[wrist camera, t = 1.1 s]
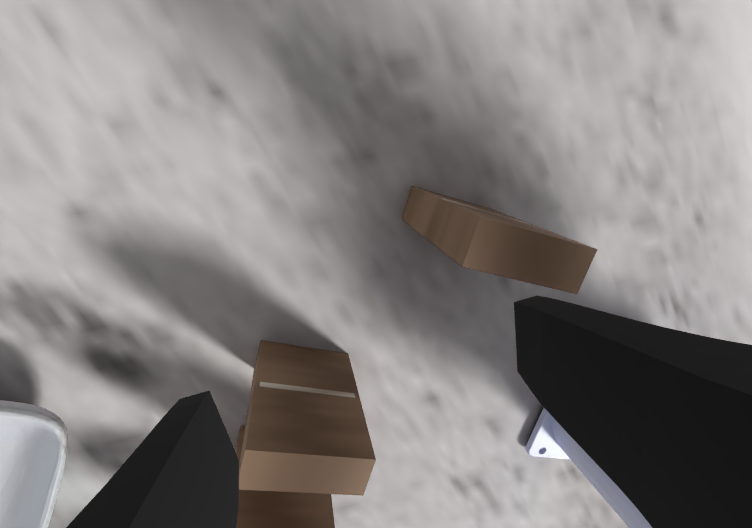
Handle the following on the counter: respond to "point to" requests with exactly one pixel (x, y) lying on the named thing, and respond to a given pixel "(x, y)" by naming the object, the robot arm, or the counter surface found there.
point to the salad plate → (30, 464)
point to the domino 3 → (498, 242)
